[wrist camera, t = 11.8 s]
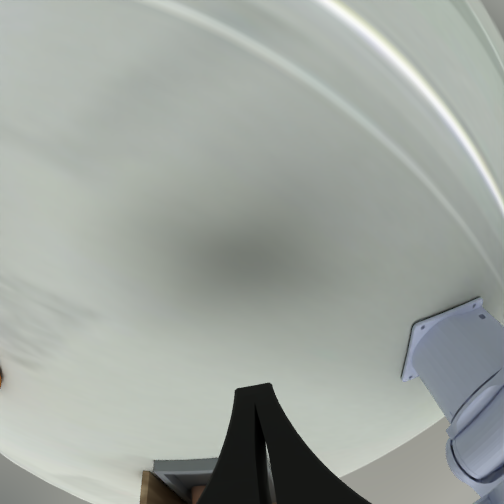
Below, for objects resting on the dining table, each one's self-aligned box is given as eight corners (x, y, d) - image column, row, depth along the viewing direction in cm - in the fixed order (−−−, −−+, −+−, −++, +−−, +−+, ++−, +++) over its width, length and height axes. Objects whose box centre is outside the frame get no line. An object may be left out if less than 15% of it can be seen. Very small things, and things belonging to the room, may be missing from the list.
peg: (207, 484, 32) (209, 510, 28) (223, 489, 34) (226, 513, 30) (185, 487, 32) (186, 513, 29) (202, 492, 34) (204, 516, 30)
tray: (264, 447, 30) (267, 463, 28) (276, 490, 37) (278, 501, 35) (154, 455, 30) (153, 471, 27) (195, 498, 37) (195, 509, 35)
